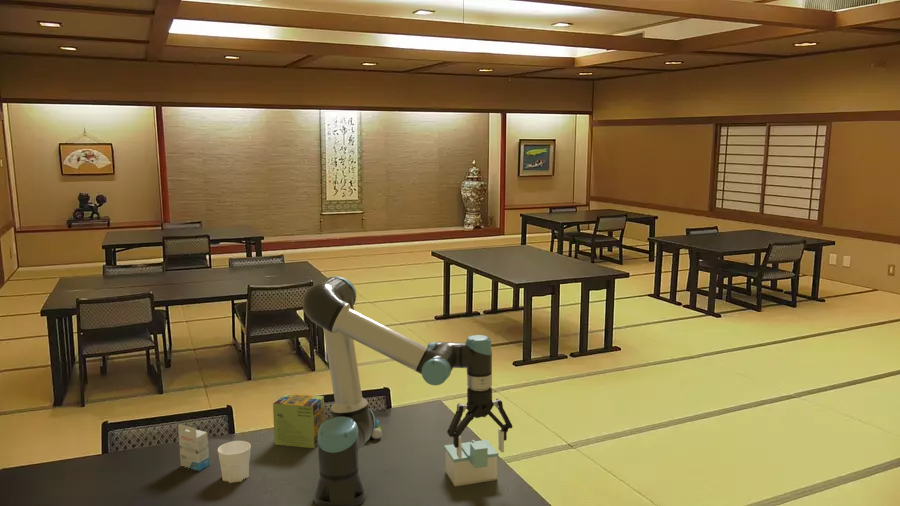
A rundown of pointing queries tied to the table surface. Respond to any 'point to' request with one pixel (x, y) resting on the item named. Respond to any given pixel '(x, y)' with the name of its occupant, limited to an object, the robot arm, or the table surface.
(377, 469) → the table surface
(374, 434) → the rainbow disc toy
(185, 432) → the ink box
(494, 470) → the tub
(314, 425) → the protein box
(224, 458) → the cup
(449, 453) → the lid
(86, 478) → the table surface
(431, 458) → the table surface
